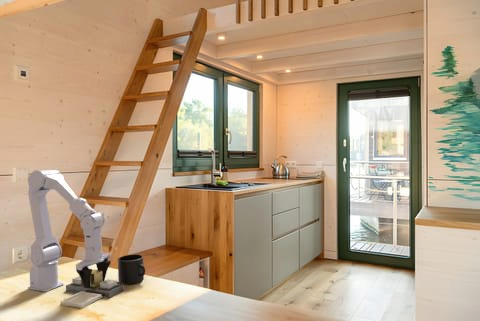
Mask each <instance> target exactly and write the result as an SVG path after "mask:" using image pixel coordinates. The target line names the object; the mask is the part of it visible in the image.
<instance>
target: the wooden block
mask: <svg viewBox="0 0 480 321" xmlns="http://www.w3.org/2000/svg"><path fill="white" fill-rule="evenodd" d="M101 282H103V273H102V270H98V269H92V272H91V277H90V288H93V289H95V288H97V287H100V283H101Z"/></svg>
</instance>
